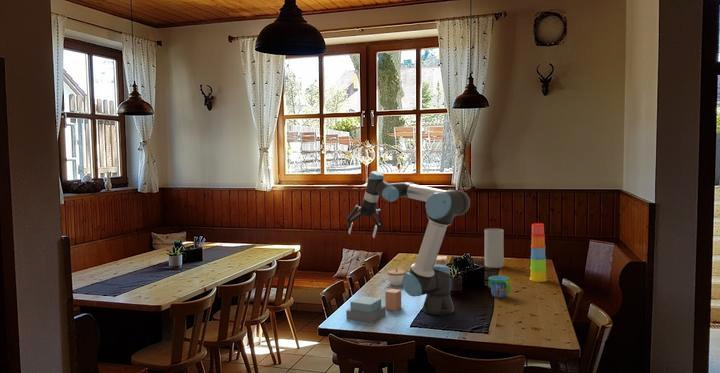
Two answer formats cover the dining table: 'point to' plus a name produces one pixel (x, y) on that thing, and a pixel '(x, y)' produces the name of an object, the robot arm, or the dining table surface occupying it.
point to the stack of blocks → (441, 260)
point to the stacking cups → (538, 254)
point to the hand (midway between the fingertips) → (361, 234)
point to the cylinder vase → (494, 248)
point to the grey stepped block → (365, 309)
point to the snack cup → (499, 285)
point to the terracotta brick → (393, 299)
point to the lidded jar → (396, 277)
